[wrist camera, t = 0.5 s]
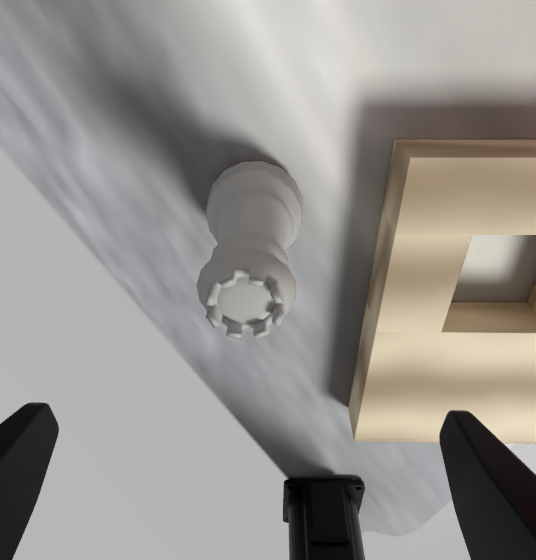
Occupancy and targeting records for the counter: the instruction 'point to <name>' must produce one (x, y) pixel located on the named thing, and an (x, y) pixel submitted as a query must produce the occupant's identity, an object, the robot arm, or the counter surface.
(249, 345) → the counter surface
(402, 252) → the socket block
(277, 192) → the rook chess piece
